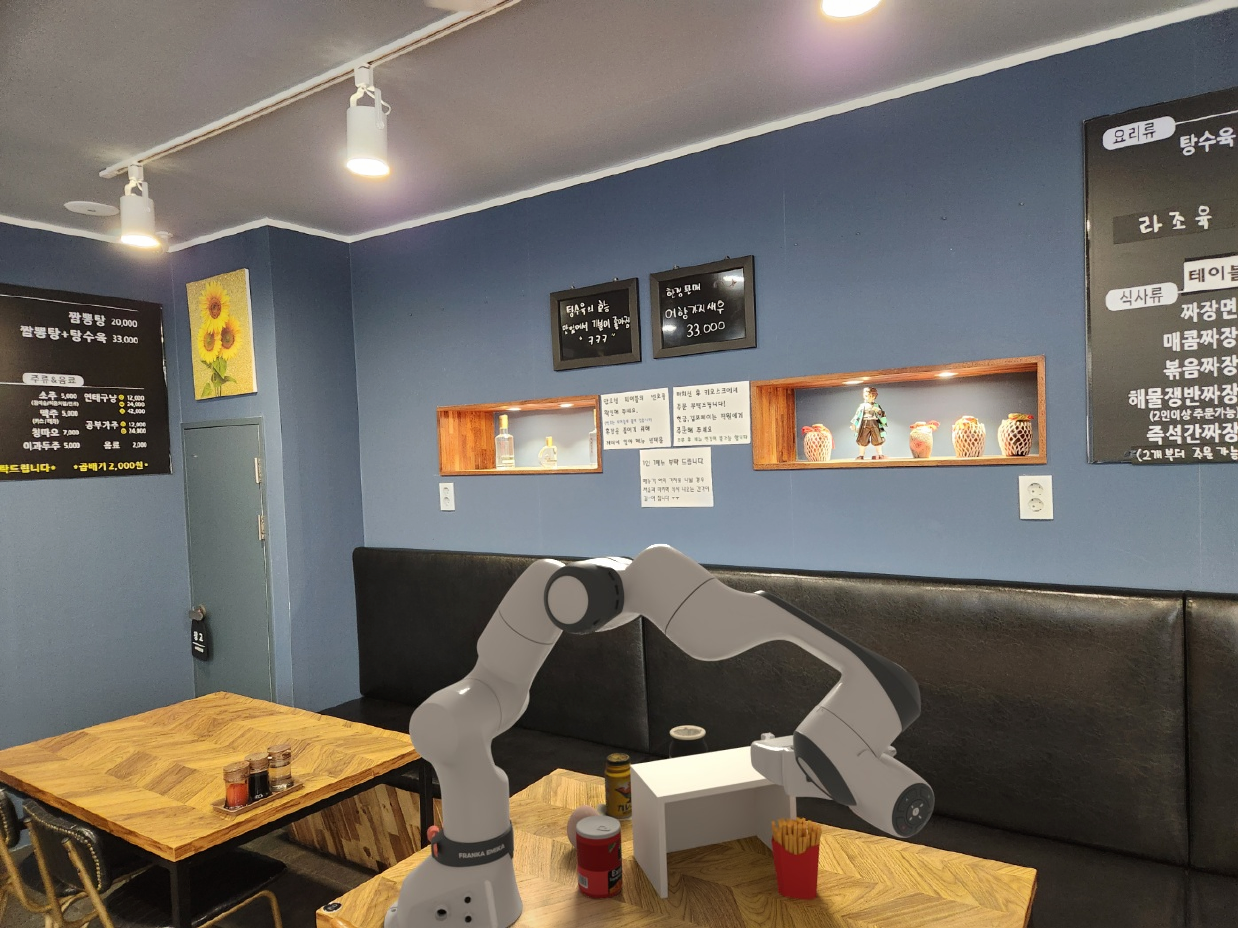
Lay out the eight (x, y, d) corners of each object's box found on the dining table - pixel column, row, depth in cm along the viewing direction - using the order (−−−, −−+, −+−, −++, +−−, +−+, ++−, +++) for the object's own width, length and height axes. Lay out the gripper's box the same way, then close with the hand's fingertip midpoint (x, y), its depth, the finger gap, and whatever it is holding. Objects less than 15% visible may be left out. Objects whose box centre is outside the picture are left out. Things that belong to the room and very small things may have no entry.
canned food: (618, 901, 128) (615, 836, 128) (572, 898, 129) (570, 833, 129) (626, 877, 135) (624, 816, 135) (583, 874, 137) (581, 813, 137)
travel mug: (711, 826, 153) (707, 737, 154) (671, 826, 154) (668, 738, 154) (708, 808, 161) (705, 724, 162) (671, 808, 162) (668, 724, 162)
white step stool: (661, 898, 128) (657, 796, 128) (633, 855, 143) (630, 764, 143) (798, 868, 136) (794, 773, 136) (758, 831, 150) (755, 745, 150)
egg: (612, 849, 145) (610, 805, 146) (583, 862, 141) (581, 818, 141) (588, 836, 151) (587, 794, 151) (560, 849, 146) (558, 806, 146)
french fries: (772, 895, 128) (770, 824, 128) (774, 882, 132) (772, 813, 132) (824, 901, 125) (821, 829, 125) (825, 888, 129) (822, 818, 129)
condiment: (635, 820, 157) (633, 762, 157) (595, 820, 158) (592, 763, 158) (636, 804, 165) (634, 749, 165) (597, 805, 165) (595, 750, 165)
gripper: (902, 732, 110) (847, 705, 123) (777, 752, 104) (733, 722, 117) (904, 775, 110) (848, 744, 123) (779, 798, 104) (735, 763, 117)
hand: (791, 733), depth 120 cm, fingers open, 8 cm apart
